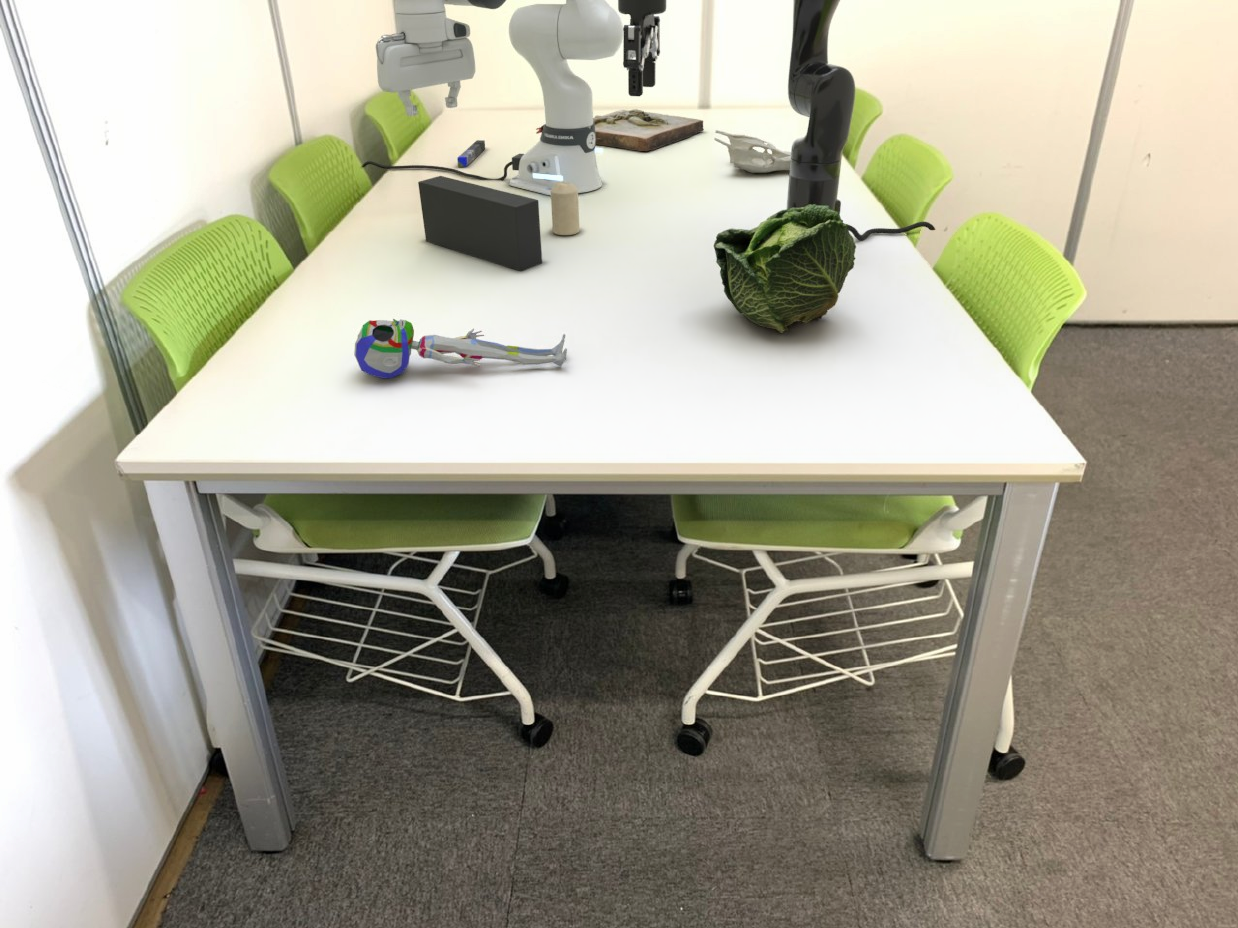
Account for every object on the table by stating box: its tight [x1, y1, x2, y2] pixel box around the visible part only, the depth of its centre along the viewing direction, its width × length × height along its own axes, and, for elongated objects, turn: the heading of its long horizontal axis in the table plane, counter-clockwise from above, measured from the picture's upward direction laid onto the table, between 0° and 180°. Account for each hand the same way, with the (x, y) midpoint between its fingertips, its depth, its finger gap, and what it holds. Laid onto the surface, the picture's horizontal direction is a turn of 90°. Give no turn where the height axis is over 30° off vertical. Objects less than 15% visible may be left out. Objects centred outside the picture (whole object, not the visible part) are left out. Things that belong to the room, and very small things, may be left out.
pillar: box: [456, 139, 486, 168], centre depth 239 cm, size 2×2×20 cm
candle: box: [550, 181, 580, 236], centre depth 182 cm, size 6×6×10 cm
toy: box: [353, 318, 568, 379], centre depth 130 cm, size 10×8×30 cm
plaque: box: [593, 108, 705, 152], centre depth 257 cm, size 30×7×30 cm
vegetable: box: [713, 204, 857, 334], centre depth 140 cm, size 20×19×20 cm
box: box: [417, 175, 543, 272], centre depth 173 cm, size 28×6×12 cm, turn 49°
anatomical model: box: [714, 130, 791, 174], centre depth 222 cm, size 15×9×25 cm
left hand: (432, 111), depth 168 cm, fingers open, 8 cm apart
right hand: (642, 91), depth 146 cm, fingers open, 8 cm apart
